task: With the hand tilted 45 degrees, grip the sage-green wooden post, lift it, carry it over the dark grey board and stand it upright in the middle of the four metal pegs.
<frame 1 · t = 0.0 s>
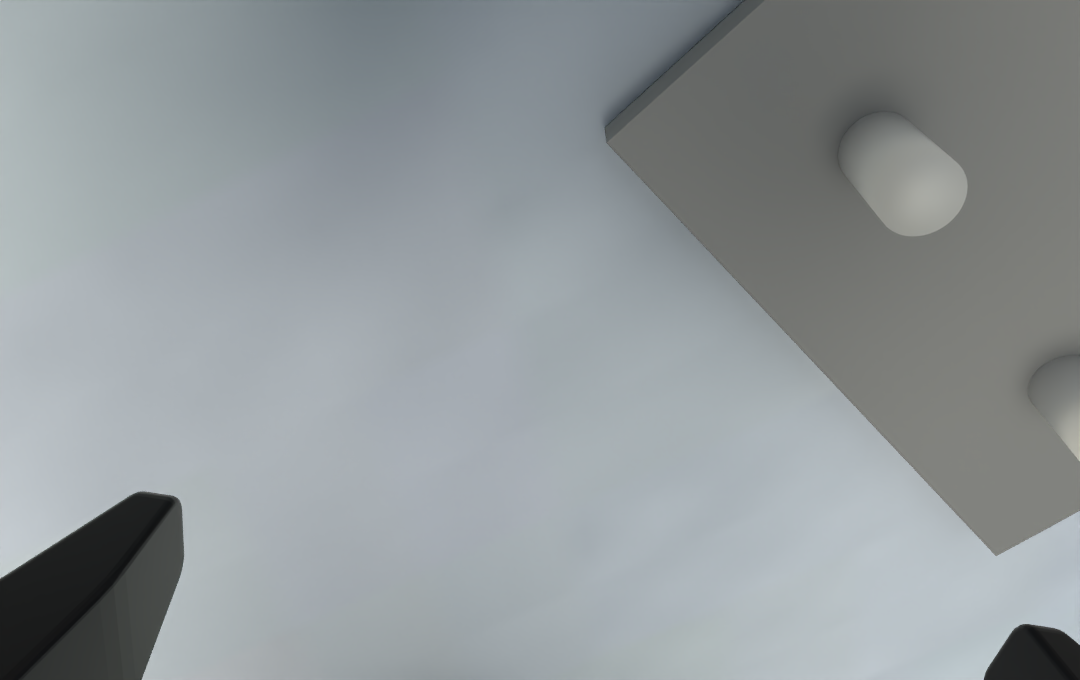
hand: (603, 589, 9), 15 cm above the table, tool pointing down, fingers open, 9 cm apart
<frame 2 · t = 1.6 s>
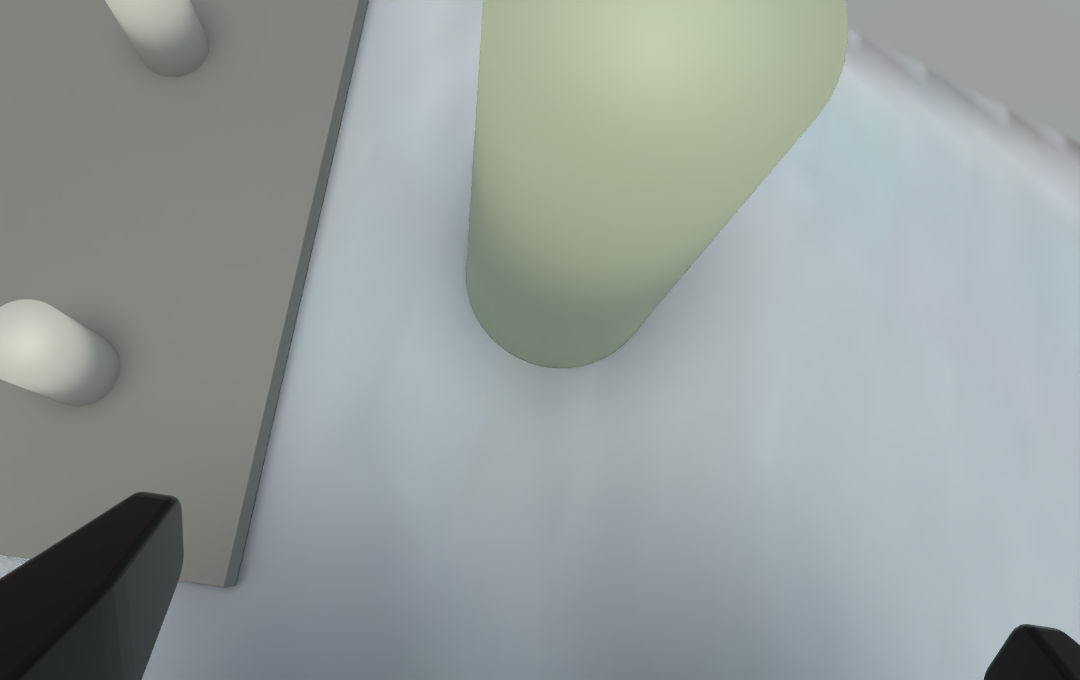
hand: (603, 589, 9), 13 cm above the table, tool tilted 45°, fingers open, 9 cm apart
post: (559, 276, 24), on the table
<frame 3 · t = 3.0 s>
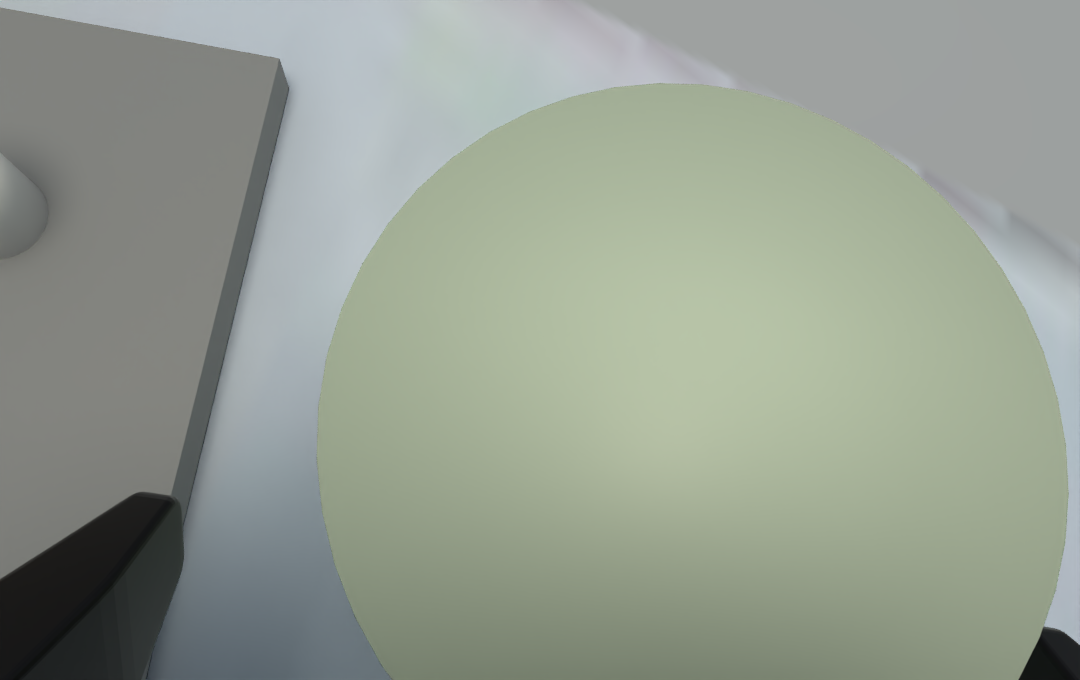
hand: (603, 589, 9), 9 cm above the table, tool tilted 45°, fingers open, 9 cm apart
post: (530, 516, 18), on the table
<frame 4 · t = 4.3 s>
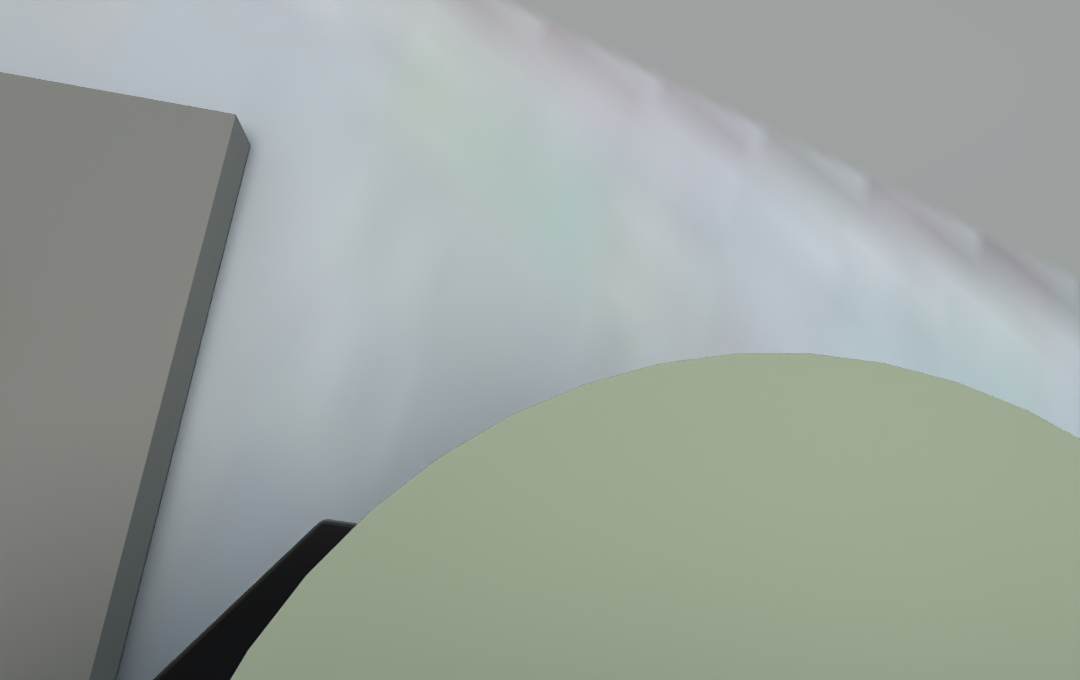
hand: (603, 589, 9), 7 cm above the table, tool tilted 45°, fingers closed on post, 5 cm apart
post: (528, 656, 15), on the table, touching gripper
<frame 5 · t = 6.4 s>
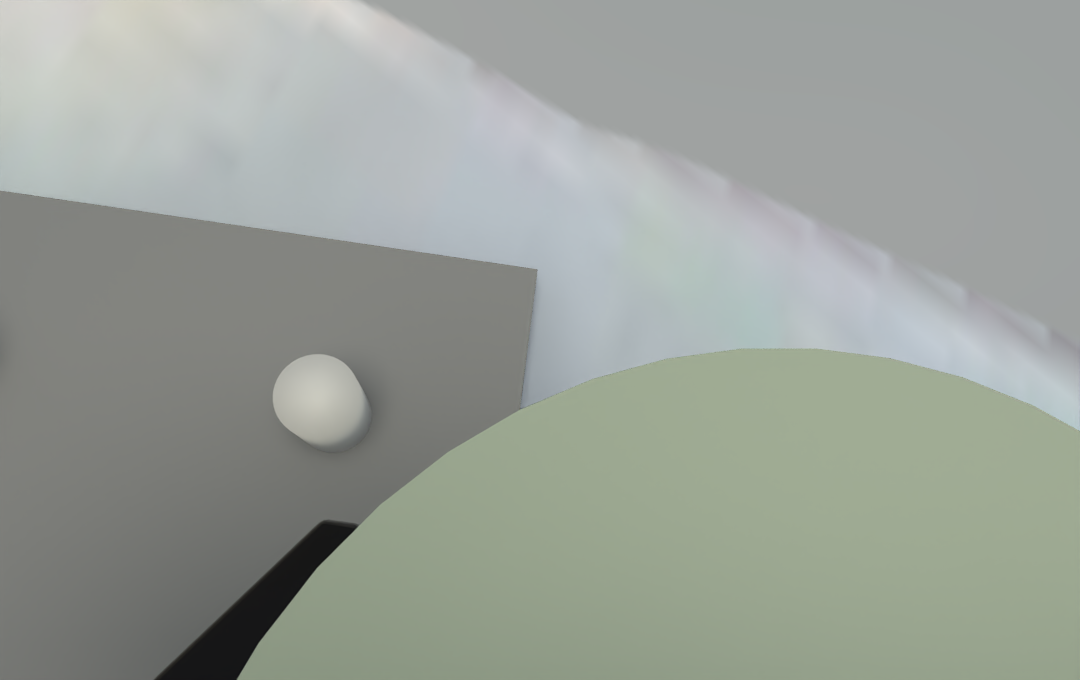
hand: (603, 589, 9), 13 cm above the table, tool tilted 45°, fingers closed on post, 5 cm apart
post: (530, 655, 15), point 7 cm above the table, touching gripper
peg board: (122, 580, 21), on the table
when the fingers open (9 cm above the table, at t = 8.5 s): post drops 1 cm, resting on peg board.
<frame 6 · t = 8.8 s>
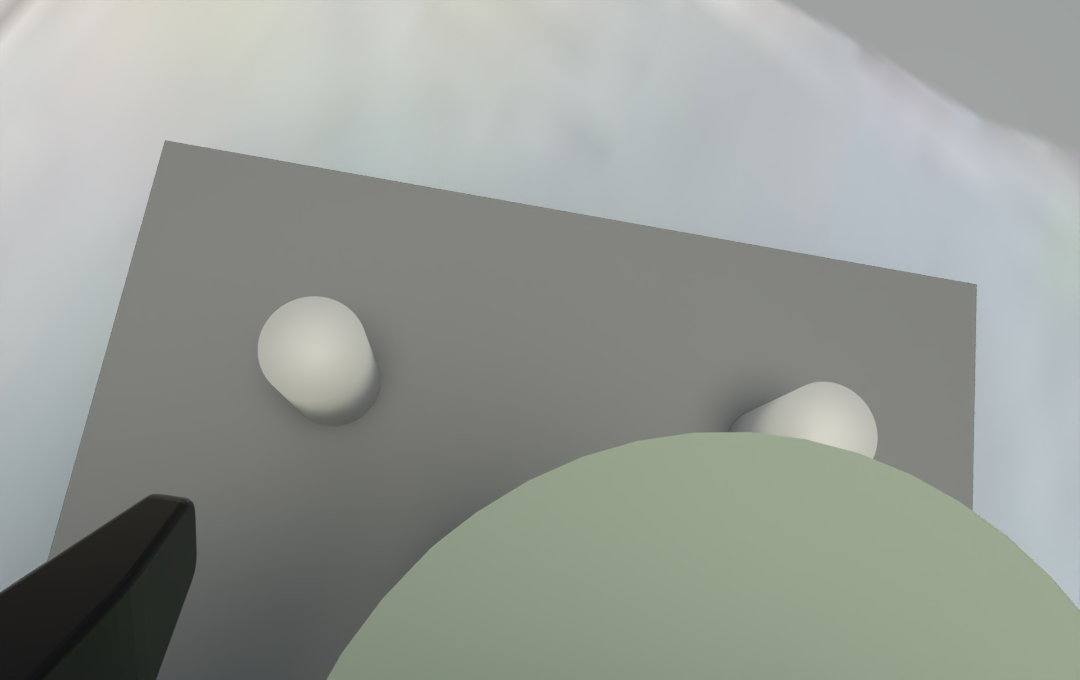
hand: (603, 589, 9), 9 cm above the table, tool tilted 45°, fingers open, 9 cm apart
post: (521, 650, 17), point 1 cm above the table, touching peg board
peg board: (516, 640, 18), on the table
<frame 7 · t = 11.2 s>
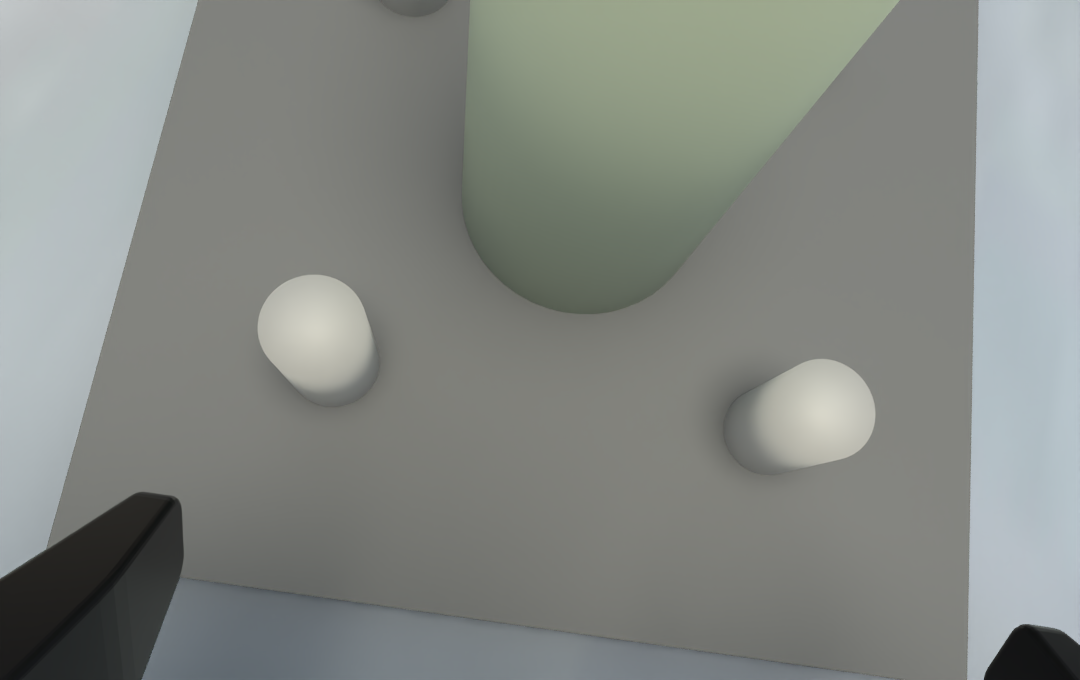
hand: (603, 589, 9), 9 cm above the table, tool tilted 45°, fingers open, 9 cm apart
post: (581, 199, 19), point 1 cm above the table, touching peg board
peg board: (574, 217, 20), on the table
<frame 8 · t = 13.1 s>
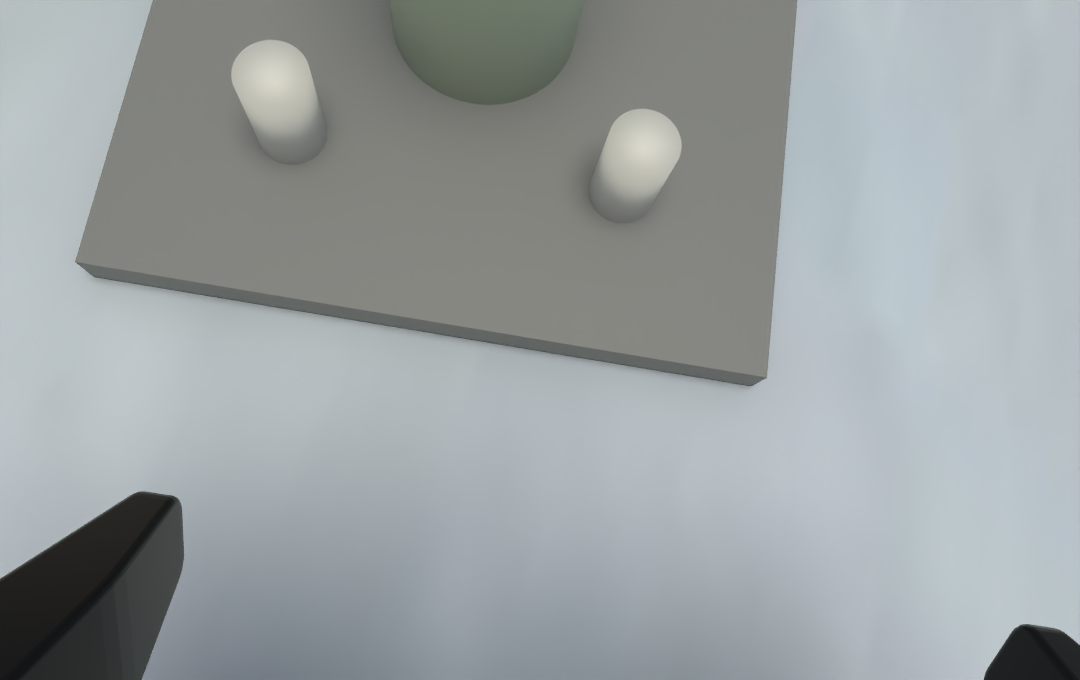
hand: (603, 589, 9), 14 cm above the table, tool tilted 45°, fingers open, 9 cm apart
post: (484, 21, 25), point 1 cm above the table, touching peg board
peg board: (483, 44, 26), on the table
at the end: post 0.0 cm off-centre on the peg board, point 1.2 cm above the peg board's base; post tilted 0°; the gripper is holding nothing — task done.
